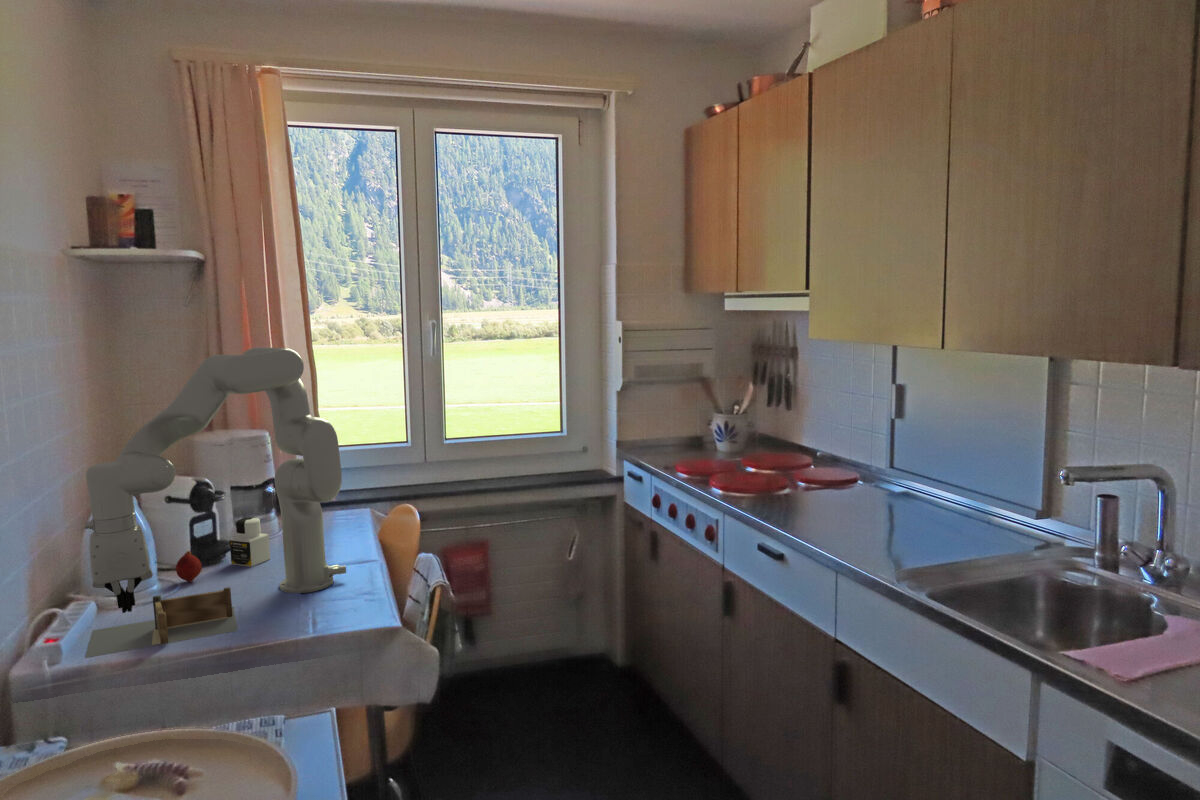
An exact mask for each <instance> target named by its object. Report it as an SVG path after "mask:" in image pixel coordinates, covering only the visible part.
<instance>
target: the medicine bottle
mask: <svg viewBox="0 0 1200 800" xmlns="http://www.w3.org/2000/svg"><path fill="white" fill-rule="evenodd" d="M235 530H236V536H235V537H231V538H229V549H230V552H229V553H230V563H231V565H234V566H241V567H251V568H252V567H254V566H257V565H259V564H261V563H264V562H268V561H269V560H271V552H270V551H271V550H270V538H269V534H268V533H261V532H262V530H261V519H260V518H258V517H254V516H250V517H249V516H247V517H243V518H240V519H238V520H236V521H235Z"/></svg>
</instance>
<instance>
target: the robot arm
mask: <svg viewBox="0 0 1200 800" xmlns="http://www.w3.org/2000/svg"><path fill="white" fill-rule="evenodd" d="M304 367H305V365H304V360H303V358H302V357H301V355H300V354H299V353H298V352H297V351H295V350H293V349H292V348H285V347H266V346H263V347H261V346H260V347H259V346H258V347H252V348H249V349H247V350H245V351H244V352H243V353H242V354H213V355H211V356H208V357H206V358H205V359H204V360H203V361H202V363H201V364H200V365H198V368H196V370H195V371H194V373H193V374H192V375H191V376H190V378H189V379H188V380H187V382H186V384H185V385H184V386H183V388H182V389H181V390H180V391H179V392H178V394H177V395H176V397H175V398H174V399H173V401H172V402H171V403H170V404H169V406H167V407H166V408H165V409H164V410H162V411H161V412H160V413H158V414H157V415H155V417H153V418H152V419H151V420H149V421H148V422H147V423H145V424H144V425H143V426H141V428H139V430H137V431H136V432H135V433H134V434H133V436H131V438H130V439H129V441H128V442H127V443H126V444H125V446H124V447H123V449H122V450H121V451H120V453H119V454H118V456H117V458H116V460H114V461H107V462H102V463H101V462H100V463H97V464H94V465H91V466H89V468H87V470H86V473H85V476H86V477H85V478H86V485H87V490H88V491H87V492H88V498H89V505H90V511H91V517H92V518H91V520H89V521H86V522H84V529H85V530H88V529H89V530H92V531H93V532H92V533H91V534H90V535H89V562H90V571H91V572H90V573H91V578H92V587H93V588H94V589H107V590H109V592H112V593H113V594H114V595H116V600H117V602H116V603H117V608H118V609H122V610H121V611H122V614H125V613H126V612H128V613H130V612H132V610H133V607H134V606H136V598H135V591H134V590H135V589H136V588H137V587H138V586H139V585H140V583H141V582H144V581H146V580H149V579H151V578H153V575H154V573H153V571H152V568H151V566H150V563H151V562H150V555H149V551H148V546H147V541H146V538H145V535H144V531H143V528H142V526H141V525H140V524H137V516H136V510H135V509H136V508H135V501H134V495H141V494H150V493H151V494H152V493H158V492H162V491H164V490H165V489H167V488H168V487H170V486H171V484H173V483H174V481H175V478H176V474H177V473H176V472H177V471H176V468H175V465H174V464H173V463H172V461H170V460H169V459H168V458H165V457H163V456H162V454H164V452H165V451H167V450H168V449H169V448H170V447H172V446H173V445H174V444H175V443H177V442H179V441H180V440H183V439H185V438H188V437H190V436H193V435H194V434H197V433H199V432H201V431H202V430H204V429H205V428H207V427H208V426H209V425H210V422H211V421H212V420H213V418H214V417H215V415H216V414H217V413H218V411H219V410H220V408H221V407H222V406H223V404H224V403H225V402H226V401H227V399H228V397H229V396H230V395H231V394H232V395H233V394H235V395H244V394H245V395H246V394H253V393H259V392H263V391H264V392H265V393H266V395H267V397H268V399H269V403H270V409H271V415H272V416H271V417H272V424H273V430H274V431H273V432H274V433H273V434H274V439H275V443H276V446H277V449H278V450H279V451H281V452H283V453H285V454H288V455H294V456H299V457H302V458H290V459H287V460H285V461H283V462H282V463H281V464H280V465H279V466H278V467H277V469H276V471H275V474H274V487H275V492H276V495H277V499H278V504H279V508H280V509H279V510H280V517H281V518H280V519H281V529H282V530H281V531H282V542H283V543H282V544H283V557H284V560H283V561H284V570H285V571H284V572H285V578H284V579H283V580H281V581H280V583H279V589H280V590H281V591H282V592H284V593H292V594H307V593H313V592H318V591H321V590H324V589H326V588H329V587H330V586H332V584H333V583H334V576H335V575H343V574H346V573H347V568H346V567H347V566H346V565H339V564H335V565H329V564H328V563H327V561H326V548H325V537H324V536H325V535H324V518H323V517H324V516H323V509H322V505H321V503H328V502H330V501H332V500H334V499H335V498H336V497H337V496H338V495H339V493H340V491H341V487H342V481H343V474H342V465H341V455H340V448H339V447H340V446H339V439H338V435H337V431H336V430H335V428H334V426H333V425H332V424H331V422H329V421H328V420H326V419H325V418H322V417H318V416H317V417H316V416H312V414H311V410H310V405H309V404H310V403H309V398H308V394H307V391H306V390H307V389H306V387H305V384H304V383H303V381H302V380H301V377H302V375H303V373H304V369H305V368H304ZM121 581H127V584H126V588H125V589H124V587H123V586H122V584H121Z"/></svg>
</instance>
